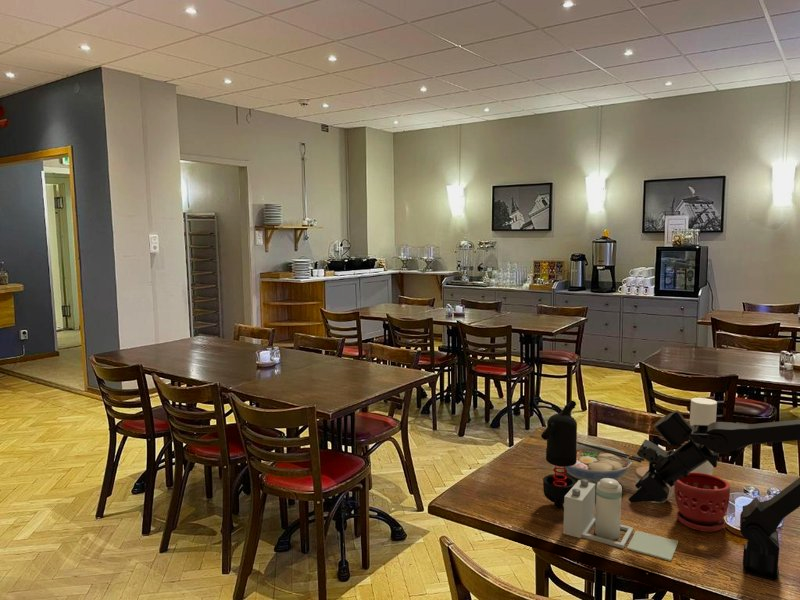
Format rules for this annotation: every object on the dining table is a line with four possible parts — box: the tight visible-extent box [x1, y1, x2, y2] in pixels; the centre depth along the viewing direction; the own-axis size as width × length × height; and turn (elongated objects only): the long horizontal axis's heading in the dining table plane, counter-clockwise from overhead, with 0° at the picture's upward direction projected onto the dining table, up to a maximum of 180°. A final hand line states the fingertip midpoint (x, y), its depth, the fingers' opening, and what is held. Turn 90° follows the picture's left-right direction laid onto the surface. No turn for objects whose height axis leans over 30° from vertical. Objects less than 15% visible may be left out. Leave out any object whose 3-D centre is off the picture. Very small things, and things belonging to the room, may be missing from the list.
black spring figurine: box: [540, 400, 578, 509], centre depth 168 cm, size 14×9×30 cm
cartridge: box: [594, 478, 623, 541], centre depth 155 cm, size 6×6×14 cm
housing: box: [563, 479, 635, 550], centre depth 156 cm, size 15×12×11 cm
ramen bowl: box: [562, 441, 645, 485], centre depth 189 cm, size 25×23×8 cm
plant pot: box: [673, 472, 731, 533], centre depth 160 cm, size 13×13×12 cm
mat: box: [626, 530, 679, 562], centre depth 150 cm, size 10×10×1 cm
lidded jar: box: [635, 465, 675, 504], centre depth 175 cm, size 11×11×9 cm
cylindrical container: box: [688, 397, 718, 476], centre depth 187 cm, size 7×7×25 cm
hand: (633, 493), depth 151 cm, fingers open, 9 cm apart
